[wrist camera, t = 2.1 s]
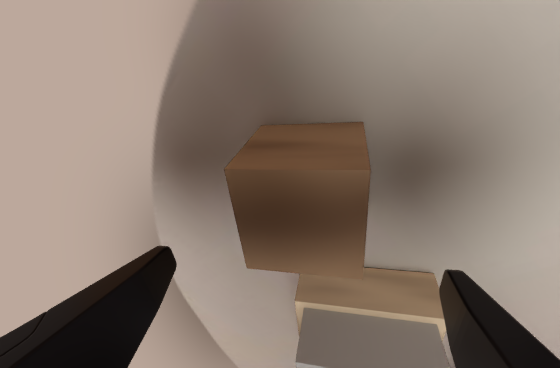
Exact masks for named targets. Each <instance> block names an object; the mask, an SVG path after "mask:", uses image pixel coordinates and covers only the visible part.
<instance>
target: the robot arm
mask: <svg viewBox="0 0 560 368" xmlns="http://www.w3.org/2000/svg"><path fill="white" fill-rule="evenodd" d="M176 265H177V264H176V260H175V258H174V255H173V253H172V250H171V248H170V247H168V246H157V247H155V248H153V249H152V250H150V251H148V252H147V253H145V254H143V255H142V256H140V257H138V258H136V259H135V260H133V261H131V262H129V263H128V264H126V265H124V266H123V267H121V268H119V269H117V270H116V271H114V272H112V273H111V274H109V275H107V276H106V277H104V278H102V279H100V280H99V281H97V282H95V283H94V284H92V285H90V286H88V287H87V288H85V289H84V290H82V291H80V292H78V293H77V294H75V295H73V296H71V297H70V298H68V299H66V300H65V301H63V302H61V303H60V304H58V305H56V306H54V307H53V308H51V309H49V310H48V311H47V312H44V313H42V314H41V315H39V316H37V317H36V318H34V319H32V320H30V321H29V322H27V323H25V324H23V325H22V326H20V327H18V328H17V329H15V330H13V331H11V332H9V333H8V334H6V335H4V336H2V337H0V368H128V366H129V364H130V362H131V360H132V358H133V356H134V354H135V353H136V351H137V349H138V347H139V345H140V343H141V341H142V340H143V338H144V336H145V334H146V332H147V330H148V328H149V327H150V325H151V323H152V321H153V319H154V317H155V315H156V313H157V311H158V309H159V307H160V305H161V303H162V301H163V298H164V296H165V294H166V291H167V289H168V286H169V284H170V282H171V279H172V277H173V275H174V272H175V270H176ZM439 295H440V301H441V306H442V311H443V316H444V321H445V326H446V331H447V336H448V341H449V345H450V350H451V354H452V357H453V360H454V364H455V367H456V368H560V360H559V359H558V358H557V357H556V356H555V355H554V354H553V353H552V352H551V351H550V350H549V349H547V348H546V347H545V346H544V345H543V344H542V343H541V342H540V341H539V340H538V339H536V338H535V337H534V336H533V335H532V334H531V333H530V332H529V331H528V330H527V329H526V328H524V327H523V326H522V325H521V324H520V323H519V322H518V321H517V320H516V319H515V318H514V317H512V316H511V315H510V314H509V313H508V312H507V311H506V310H505V309H504V308H503V307H501V306H500V305H499V304H498V303H497V302H496V301H495V300H494V299H493V298H492V297H491V296H489V295H488V294H487V293H486V292H485V291H484V290H483V289H482V288H481V287H480V286H479V285H477V284H476V283H475V282H474V281H473V280H472V279H471V278H470V277H469V276H468V275H466V274H465V273H464V272H463V271H460V270H449V269H448V270H445V272H444V274H443V278H442V281H441V285H440V289H439Z"/></svg>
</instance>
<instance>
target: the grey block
mask: <svg viewBox="0 0 560 368" xmlns="http://www.w3.org/2000/svg"><path fill="white" fill-rule="evenodd" d="M296 368H450V367H449V363H448V360H447V356H446V353H445V350H444V346H443V343H442V339H441V336H440V333H439V329H438V326H437V324H430V323H422V322H415V321H407V320H399V319H391V318H383V317H375V316H367V315H359V314H351V313H343V312H335V311H327V310H319V309H312V308H304V310H303V317H302V323H301V329H300V336H299V342H298V349H297V355H296Z"/></svg>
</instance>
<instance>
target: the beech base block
mask: <svg viewBox="0 0 560 368" xmlns="http://www.w3.org/2000/svg"><path fill="white" fill-rule="evenodd" d="M295 307H296V315H297V323H298V331H299V336H300V329H301V323H302V317H303V310H304V308H312V309H319V310H327V311H335V312H343V313H351V314H359V315H367V316H375V317H383V318H391V319H399V320H407V321H415V322H422V323H430V324H437V326H438V329H439V333H440V336H441V339H442V341H443V338H444V335H445V332H446V326H445V321H444V316H443V311H442V306H441V301H440V295H439V287H438V284H437V281H436V278H435V275H434V273H423V272H411V271H399V270H388V269H376V268H364V269H363V280H360V279H350V278H340V277H330V276H320V275H310V274H300V276H299V281H298V287H297V292H296V297H295Z"/></svg>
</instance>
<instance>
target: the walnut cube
mask: <svg viewBox="0 0 560 368" xmlns="http://www.w3.org/2000/svg"><path fill="white" fill-rule="evenodd" d="M224 171H225V176H226V180H227V184H228V189H229V193H230V197H231V202H232V206H233V210H234V215H235V219H236V223H237V228H238V232H239V237H240V241H241V245H242V250H243V254H244V258H245V263H246V267H247V268H250V269H260V270H270V271H280V272H290V273H300V274H310V275H320V276H330V277H340V278H350V279H360V280H363V269H364V256H365V242H366V228H367V214H368V201H369V187H370V173H371V169H370V162H369V156H368V149H367V143H366V136H365V129H364V123H363V122H348V123H319V124H289V125H261V126H260V128H259V129H258V130H257V131H256V132H255V133H254V135H253V136H252V137H251V138H250V139H249V141H248V142H247V143H246V144H245V145H244V146H243V148H242V149H241V150H240V151H239V152H238V153H237V155H236V156H235V157H234V158H233V159H232V160H231V162H230V163H229V164H228V165H227V166H226V168H225V169H224Z"/></svg>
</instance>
